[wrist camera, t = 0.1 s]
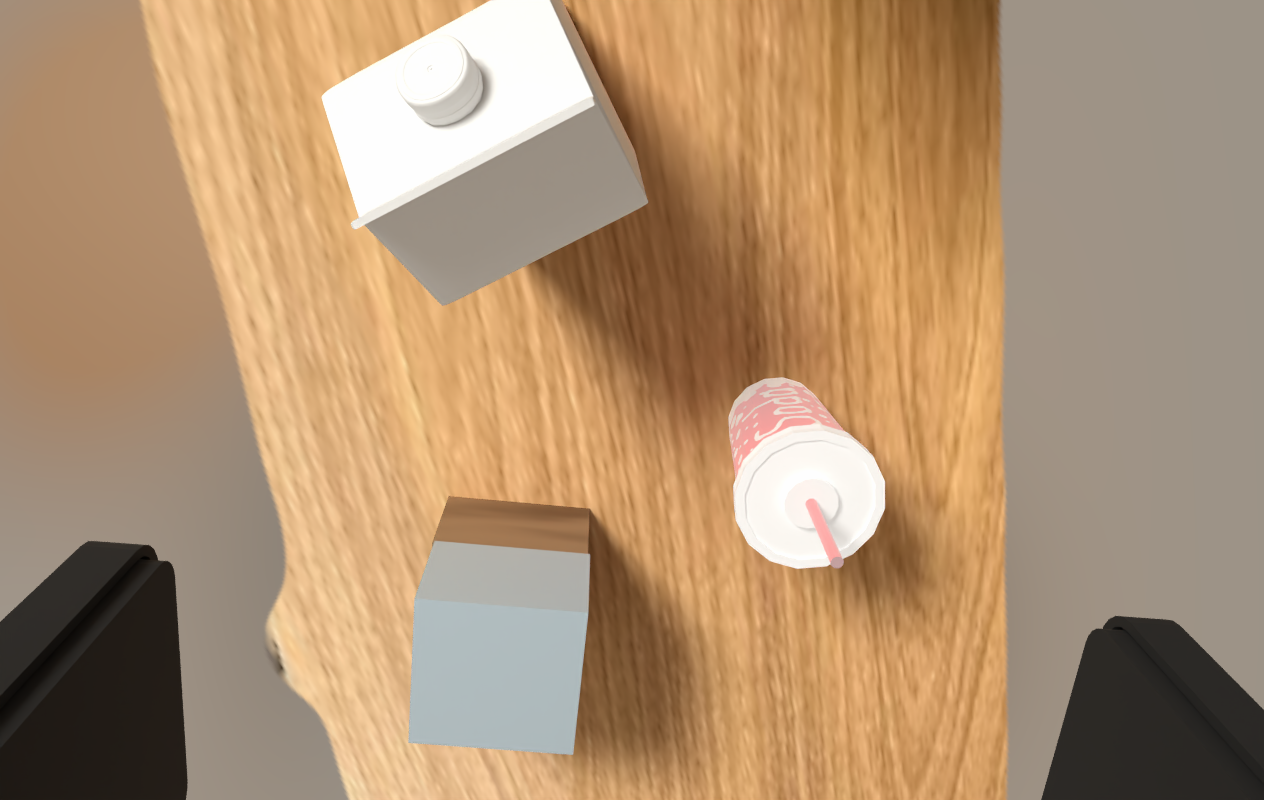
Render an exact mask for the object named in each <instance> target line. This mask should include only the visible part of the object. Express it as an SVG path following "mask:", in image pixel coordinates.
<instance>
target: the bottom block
mask: <svg viewBox="0 0 1264 800" xmlns="http://www.w3.org/2000/svg"><path fill="white" fill-rule="evenodd" d="M589 514H590V509H586V508H575V507H563V506H552V505H541V504H530V503H518V502H507V501H496V500H484V499H473V498H462V497H451V496H449V497H448V500H447V503H446V506H445V509H444V511H443V514H442V517H441V520H440V523H439V526H438V528H437V531H436V534H435V537H434V540H433V543H432V547H433V544H434V541H443V542H455V543H466V544H478V545H490V546H502V547H513V548H525V549H537V550H549V551H560V552H572V553H584V554H588V540H589Z"/></svg>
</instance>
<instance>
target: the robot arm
mask: <svg viewBox="0 0 1264 800" xmlns="http://www.w3.org/2000/svg"><path fill="white" fill-rule="evenodd" d="M186 795H187V765H186V748H185V732H184V716H183V700H182V684H181V667H180V651H179V634H178V618H177V603H176V586H175V574H174V569H173V566H172V564H171V563H170V562H168V561H158V558H157V555H156V553H155V550H154V549H153V548H152V547H151V546H149V545H138V544H125V543H110V542H98V541H88V542H86V543H85V544H83V545H82V546H80V547H79V549H77V550H76V551H75V552H74V553H73V554H72V555H71V556H70V557H69V558H68V559H67V560H66V561H65V562H63V563H62V564H61V565H60V566H59V567H58V568H57V569H56V570H55V571H54V572H53V573H52V574H51V575H50V576H49V577H48V578H47V579H45V580H44V581H43V582H42V583H41V584H40V585H39V586H38V587H37V588H36V589H35V590H34V591H33V592H32V593H31V594H29V595H28V596H27V597H26V598H25V599H24V600H23V601H22V602H21V603H20V604H19V605H18V606H17V607H16V608H15V609H13V610H12V611H11V612H10V613H9V614H8V615H7V616H6V617H5V618H4V619H3V620H2V621H1V622H0V800H186ZM1041 800H1264V710H1263V709H1262V708H1261V707H1260V706H1259V705H1258V704H1257V703H1256V702H1255V701H1254V700H1253V699H1252V698H1251V697H1250V696H1249V695H1248V694H1247V693H1246V692H1245V691H1244V690H1243V689H1242V688H1241V687H1240V685H1239V684H1238V683H1236V681H1234V680H1233V679H1232V677H1231V676H1230V675H1228V674H1227V672H1225V670H1224V669H1223V668H1222V667H1221V666H1220V665H1219V664H1218V663H1217V662H1215V660H1214V659H1213V658H1212V657H1211V656H1210V655H1209V654H1208V653H1207V652H1206V651H1205V650H1204V649H1203V648H1202V647H1200V645H1199V644H1198V643H1197V642H1196V641H1195V640H1194V639H1193V638H1192V637H1191V636H1189V634H1188V633H1187V632H1186V631H1185V630H1184V629H1183V628H1182V627H1181V626H1180V625H1178V624H1177V623H1175V622H1174V621H1171V620H1163V619H1149V618H1136V617H1122V616H1115V617H1113V618H1111V619H1109V620H1108V621H1107V623H1106V624H1105V625H1104V627H1103V629H1095V630H1093V631H1092V632H1091V634H1090V635H1089V636H1088V638H1087V641H1086V644H1085V647H1084V650H1083V654H1082V658H1081V661H1080V665H1079V668H1078V672H1077V675H1076V679H1075V682H1074V686H1073V690H1072V693H1071V697H1070V700H1069V704H1068V707H1067V711H1066V714H1065V718H1064V722H1063V725H1062V728H1061V732H1060V736H1059V739H1058V743H1057V746H1056V750H1055V753H1054V757H1053V760H1052V764H1051V767H1050V771H1049V775H1048V778H1047V782H1046V785H1045V789H1044V792H1043V796H1042V799H1041Z"/></svg>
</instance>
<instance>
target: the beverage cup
mask: <svg viewBox="0 0 1264 800" xmlns="http://www.w3.org/2000/svg"><path fill="white" fill-rule="evenodd" d="M728 419H729V436H730V443H731V450H732V457H733V464H734V471H735V478H736V480H735V482H734V485H733V491H734V511H735V518H736V521H737V523H738V525H739V527H740V529H741V531H742V533H743V535H744V537H745V539H746V540H747V542H748V544H749V545H750V546H751V547H753V548H754V549H755V550H757V551H758V552H759V553H760V554H762V555H763V556H764V557H765V558H767V559H768V560H769V561H772V562H775V563H779V564H782V565H786V566H789V567H793V568H796V569H799V568H812V567H824V566H828V565H830V564H831V566H832V567H833V568H840V567H842V566H843V564H844V560H843V559H844V558H846V557H848V556H850V555H852V554H854V553H855V552H856V551H857V550H858V549H859V548H860V547H861V546H862V545H863V544H864V543H865V542H866V541H867V540H868V539H869V538H870V537H871V536H872V535H873V534H874V532H875V530H876V527H877V525H878V523H879V521H880V519H881V516H882V514H883V512H884V510H885V481H884V478H883V476H882V474H881V472H880V470H879V468H878V465H877V463H876V461H875V459H874V457H873V455H872V454H871V453H870V452H869V451H868V449H866V448H865V447H864V446H863V445H862V444H860V443H859V442H858V441H857V440H856V439H855V438H853V437H852V436H851V435H850V434H849V433H847V432H845V431H844V430H843V429H842V427H841V426H840V425H839V424H838V422H837V421H836V420H835V419H834V418H833V416H832V415H831V414H830V413H829V412H828V410H827V409H826V408H825V407H824V406H823V404H822V403H821V402H820V401H819V400H818V398H817V397H816V396H815V395H814V394H813V393H812V392H811V391H810V390H809V389H807V388H806V387H805V386H804V385H803V384H801V383H800V382H797V381H793V380H790V379H787V378H784V377H781V378H769V379H763V380H761V381H759V382H757V383H755V384H753V385H751V386H749V387H747V388H746V389H745V390H744V391H743V392H742V393H741V394H740V395H739V397H738V398H737V399H736V400H735V401H734V404H733V406H732V409H731V412H730V414H729V417H728Z"/></svg>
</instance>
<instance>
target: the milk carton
mask: <svg viewBox="0 0 1264 800" xmlns="http://www.w3.org/2000/svg"><path fill="white" fill-rule="evenodd" d="M322 100H323V104H324V107H325V110H326V113H327V117H328V120H329V123H330V126H331V129H332V133H333V136H334V139H335V142H336V145H337V148H338V152H339V155H340V158H341V161H342V164H343V168H344V171H345V174H346V177H347V180H348V183H349V187H350V190H351V193H352V196H353V199H354V203H355V206H356V209H357V212H358V215H359V218H358V219H356V220H354V221H353V222H352V223H351V226H352V227H353V229H357V228H359V227H361V226H363V225H365V226H366V227H367V228H368V229H369V230H370V231H371V232H372V233H373V234H374V235H375V236H376V237H377V239H378V240H379V241H380V242H381V243H382V244H383V245H384V246H385V247H386V248H387V249H388V250H389V251H390V252H391V253H392V254H393V255H394V256H395V257H396V258H397V259H398V260H399V261H400V262H401V263H402V264H403V265H404V267H405V268H406V269H407V270H408V271H409V272H410V273H411V274H412V275H413V276H414V277H415V278H416V279H417V280H418V281H419V282H420V283H421V284H422V285H423V286H424V287H425V288H426V289H427V290H428V291H429V292H430V293H431V295H432V296H433V297H434V298H435V299H436V300H437V301H438V302H439V303H440V304H441V305H447V304H449V303H452V302H454V301H456V300H458V299H460V298H462V297H464V296H466V295H468V294H470V293H472V292H474V291H476V290H478V289H480V288H482V287H484V286H486V285H488V284H490V283H492V282H494V281H496V280H498V279H500V278H502V277H504V276H506V275H508V274H510V273H512V272H514V271H516V270H518V269H520V268H522V267H524V266H526V265H528V264H530V263H532V262H534V261H536V260H538V259H540V258H542V257H544V256H546V255H548V254H550V253H552V252H554V251H556V250H558V249H560V248H562V247H564V246H566V245H568V244H570V243H572V242H574V241H576V240H578V239H580V238H582V237H584V236H586V235H588V234H590V233H592V232H594V231H596V230H598V229H600V228H602V227H604V226H606V225H608V224H610V223H612V222H614V221H616V220H618V219H620V218H622V217H624V216H626V215H628V214H630V213H632V212H633V211H635V210H637V209H639V208H641V207H643V206H644V205H646V204H647V203H648V200H647V197H646V193H645V189H644V185H643V181H642V177H641V173H640V169H639V165H638V161H637V157H636V153H635V150H634V148H633V146H632V144H631V142H630V140H629V138H628V136H627V134H626V132H625V129H624V127H623V125H622V123H621V121H620V119H619V117H618V115H617V113H616V111H615V109H614V107H613V105H612V103H611V100H610V98H609V96H608V94H607V92H606V90H605V88H604V86H603V84H602V82H601V80H600V78H599V76H598V74H597V71H596V69H595V67H594V65H593V63H592V61H591V59H590V57H589V55H588V53H587V51H586V49H585V47H584V44H583V42H582V40H581V38H580V36H579V34H578V32H577V30H576V28H575V26H574V24H573V22H572V20H571V18H570V15H569V13H568V11H567V9H566V7H565V5H564V3H563V1H562V0H491V1H489V2H487V3H485V4H483V5H481V6H479V7H478V8H476V9H474V10H472V11H470V12H468V13H467V14H465V15H463V16H461V17H459V18H457V19H456V20H454V21H452V22H450V23H448V24H446V25H445V26H443V27H441V28H439V29H437V30H435V31H433V32H432V33H430V34H428V35H426V36H424V37H422V38H421V39H419V40H417V41H415V42H413V43H411V44H410V45H408V46H406V47H404V48H402V49H400V50H398V51H397V52H395V53H393V54H391V55H389V56H387V57H386V58H384V59H382V60H380V61H378V62H376V63H375V64H373V65H371V66H369V67H367V68H365V69H364V70H362V71H360V72H358V73H356V74H354V75H353V76H351V77H349V78H347V79H346V80H344V81H342V82H340V83H339V84H337V85H335V86H334V87H332V88H331V89H329V90H328V91H326V92H325V93H324V95H323V96H322Z"/></svg>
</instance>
